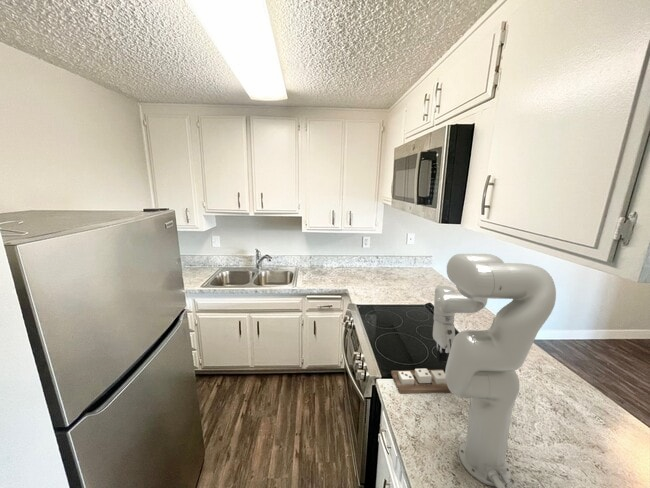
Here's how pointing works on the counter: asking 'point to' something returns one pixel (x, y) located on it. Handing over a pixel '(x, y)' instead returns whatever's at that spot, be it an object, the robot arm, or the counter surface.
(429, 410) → the counter surface
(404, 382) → the white square block
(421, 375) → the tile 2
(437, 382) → the keypad button
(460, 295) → the robot arm
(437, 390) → the keypad board
